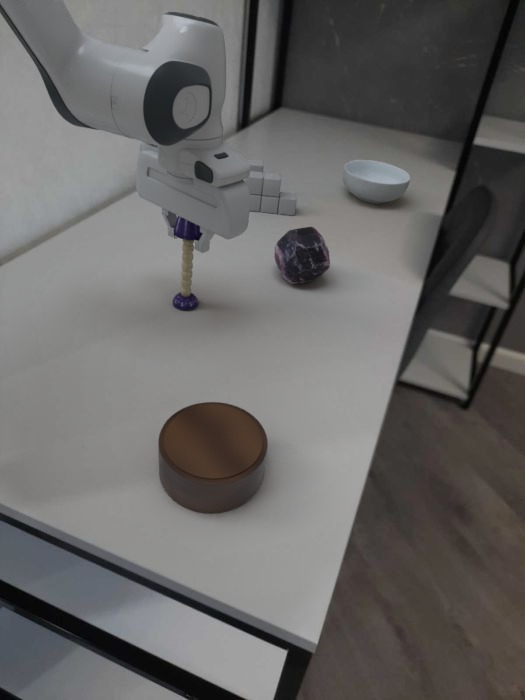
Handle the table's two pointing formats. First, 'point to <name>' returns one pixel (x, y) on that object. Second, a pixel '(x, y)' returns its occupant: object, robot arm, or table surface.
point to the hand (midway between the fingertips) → (188, 243)
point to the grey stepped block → (268, 191)
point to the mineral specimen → (302, 255)
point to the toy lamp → (186, 263)
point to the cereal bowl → (375, 180)
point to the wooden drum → (212, 456)
